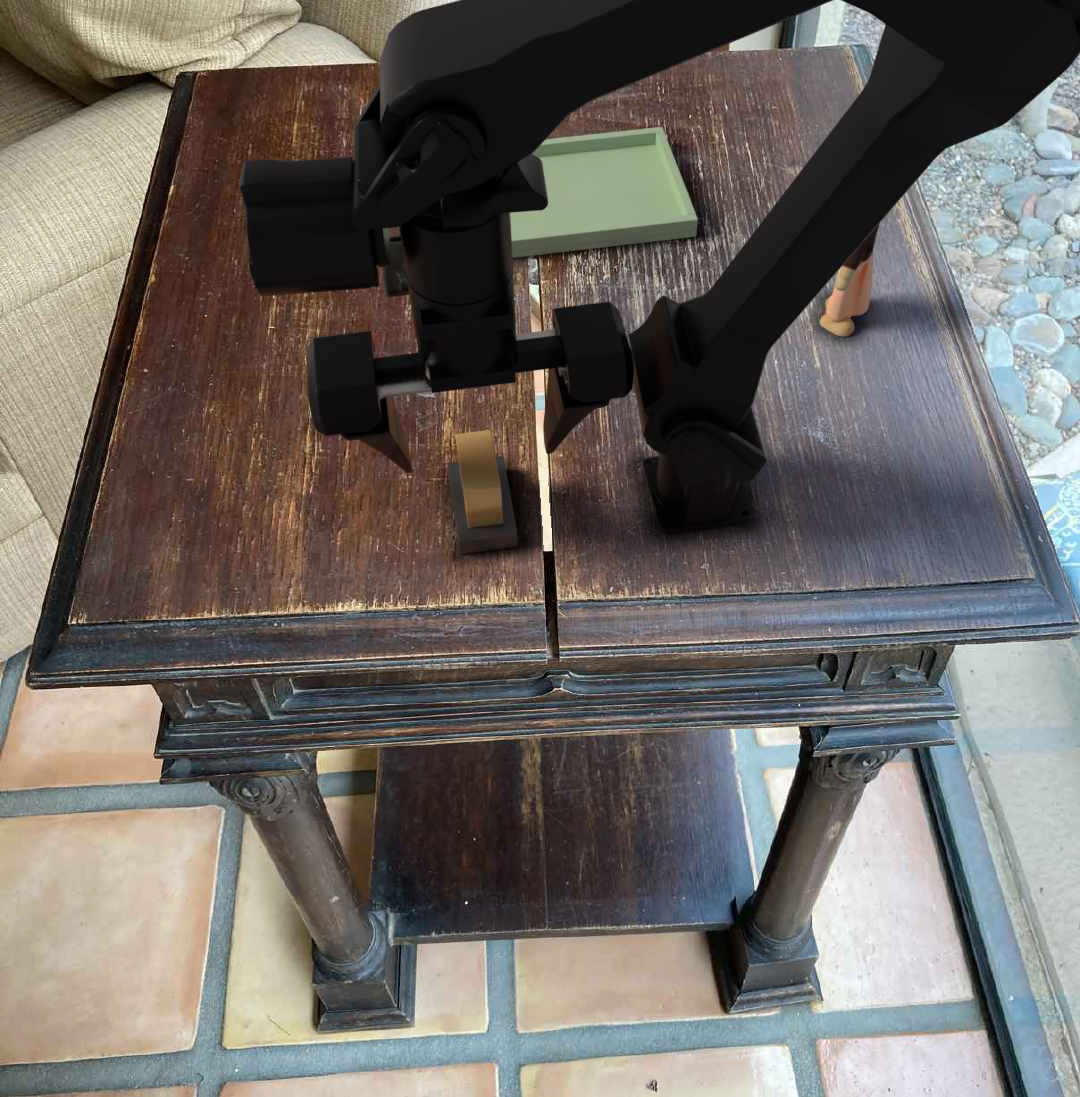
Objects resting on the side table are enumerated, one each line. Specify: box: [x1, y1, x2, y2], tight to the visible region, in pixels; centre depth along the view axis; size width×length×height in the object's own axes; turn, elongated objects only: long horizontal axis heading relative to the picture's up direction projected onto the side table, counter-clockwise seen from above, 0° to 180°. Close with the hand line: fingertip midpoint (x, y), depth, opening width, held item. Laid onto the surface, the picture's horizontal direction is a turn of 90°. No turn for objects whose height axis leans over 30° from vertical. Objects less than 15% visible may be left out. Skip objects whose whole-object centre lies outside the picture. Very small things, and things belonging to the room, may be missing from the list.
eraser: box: [446, 429, 519, 555], centre depth 71 cm, size 7×4×6 cm, turn 9°
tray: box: [510, 126, 699, 259], centre depth 92 cm, size 14×22×2 cm, turn 99°
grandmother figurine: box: [819, 212, 890, 338], centre depth 79 cm, size 8×4×13 cm, turn 168°
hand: (478, 457), depth 69 cm, fingers open, 9 cm apart
